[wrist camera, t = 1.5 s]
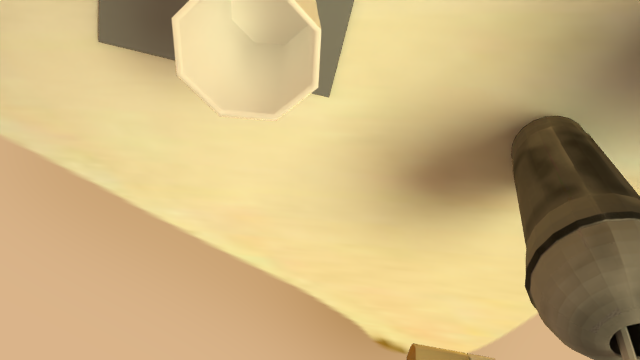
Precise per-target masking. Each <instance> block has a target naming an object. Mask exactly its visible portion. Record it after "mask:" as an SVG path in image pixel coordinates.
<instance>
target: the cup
mask: <svg viewBox="0 0 640 360" xmlns="http://www.w3.org/2000/svg"><path fill="white" fill-rule="evenodd" d="M172 28H173V40H174V51H175V63H176V74H177V76H178V77H179V78H180V79H181V80H182V81H183V82H184V83H185V84H186V85H187V86H188V87H189V88H190V89H191V90H192V91H193V92H194V93H195V94H197V95H198V96H199V97H200V98H201V99H202V100H203V101H204V102H205V103H206V104H207V105H208V106H209V107H210V108H211V109H212V110H213V111H215V112H216V113H217V114H218V115H219V116H222V117H234V118H246V119H257V120H269V121H277V120H278V119H279V118H281V117H282V116H283V115H284V114H286V113H287V112H288V111H289V110H291V109H292V108H293V107H294V106H296V105H297V104H298V103H299V102H301V101H302V100H303V99H304V98H306V97H307V96H308V95H309V94H311V93H312V92H313V91H314V90H316V89H317V88H318V82H319V64H320V46H321V25H320V20H319V16H318V10H317V4H316V0H189V1H188V2H187V3H186V4H185V5H184V6H183V7H182V8H181V9H180V10H179V11H178V12H177V13H176V14H175V15H174V16H173V17H172Z"/></svg>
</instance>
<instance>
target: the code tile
mask: <svg viewBox="0 0 640 360" xmlns="http://www.w3.org/2000/svg"><path fill="white" fill-rule="evenodd" d="M188 1H189V0H99V42H101V43H105V44H110V45H114V46H118V47H122V48H126V49H130V50H134V51H139V52H143V53H147V54H151V55H155V56H159V57H163V58H168V59H172V60H175V51H174V40H173V28H172V17H173V16H174V15H175V14H176V13H177V12H178V11H179V10H180V9H181V8H182V7H183V6H184V5H185V4H186V3H187V2H188ZM353 2H354V0H316V4H317V10H318V16H319V20H320V25H321V46H320V64H319V82H318V88H317V89H316V90H314V91H313V92H312V94H316V95H321V96H325V97H329V96H330V92H331V88H332V84H333V80H334V76H335V72H336V68H337V64H338V61H339V57H340V53H341V49H342V45H343V41H344V37H345V33H346V30H347V26H348V22H349V18H350V14H351V10H352V6H353Z"/></svg>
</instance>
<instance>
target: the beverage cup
mask: <svg viewBox="0 0 640 360" xmlns="http://www.w3.org/2000/svg"><path fill="white" fill-rule="evenodd" d="M511 156H512V159H513V174H514V180H515V186H516V192H517V197H518V203H519V209H520V214H521V220H522V226H523V232H524V237H525V243H526V280H525V288H526V290H527V293H528V295H529V298H530V301H531V303H532V304H533V306H534V307H535V308H536V309H537V310H538V313H539V315H540V317H541V319H542V320H543V322H544V323H545V325H546V326H547V327H548V328H549V329H550V330H551V331H552V332H553V333H554V334H555V335H556V336H557V337H558V338H559V339H560V340H561V341H562V342H563V343H564V344H565V345H567V346H568V347H569V348H571V349H572V350H574V351H576V352H579V353H581V354H583V355H585V356H587V357H589V358H591V359H594V360H640V196H639V195H638V194H637V193H636V191H635V190H634V189H633V188H632V186H631V185H630V184H629V183H628V182H627V180H626V179H625V178H624V177H623V175H622V174H621V173H620V172H619V171H618V169H617V168H616V167H615V166H614V164H613V163H612V162H611V161H610V160H609V158H608V157H607V156H606V155H605V154H604V152H603V151H602V150H601V149H600V147H599V146H598V145H597V144H596V143H595V141H594V140H593V139H592V138H591V136H590V135H589V134H587V133H586V132H585V131H584V130H583V129H582V128H581V126H580V125H579V124H578V123H576V122H575V121H573V120H571V119H569V118H565V117H560V116H550V117H544V118H541V119H538V120H535V121H533V122H531V123H530V124H528V125H527V126H525V127H524V128H523V129H522V130H521V131H520V132H519V133H518V135H517V136H516V138H515V140H514V142H513V144H512V153H511Z"/></svg>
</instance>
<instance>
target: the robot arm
mask: <svg viewBox="0 0 640 360" xmlns="http://www.w3.org/2000/svg"><path fill="white" fill-rule="evenodd" d="M407 360H495V358H490V357H485V356H480V355H474V354H469V353H467V354H466V353H463V352H458V351H452V350H447V349H441V348H436V347H430V346H425V345H419V344H414V343H413V344H412V346H411V347H410V349H409V352H408V355H407Z"/></svg>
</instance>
